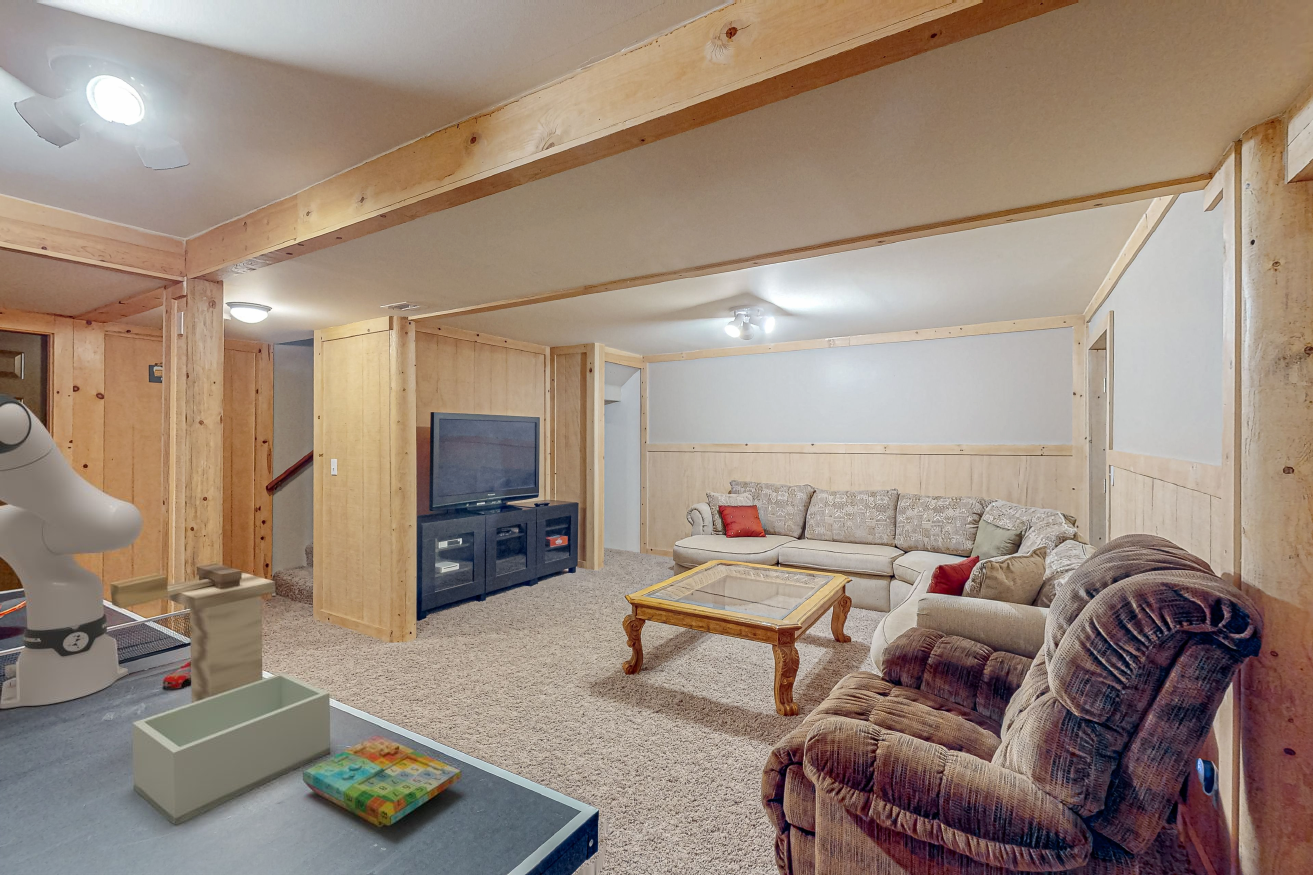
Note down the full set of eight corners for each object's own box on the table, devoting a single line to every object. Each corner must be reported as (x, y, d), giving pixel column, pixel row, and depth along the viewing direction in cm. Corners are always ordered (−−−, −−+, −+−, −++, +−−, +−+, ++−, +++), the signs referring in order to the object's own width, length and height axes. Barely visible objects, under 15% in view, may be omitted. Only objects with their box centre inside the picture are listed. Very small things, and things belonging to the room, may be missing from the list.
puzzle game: (375, 729, 96) (461, 764, 86) (375, 758, 97) (461, 796, 87) (302, 765, 86) (390, 809, 76) (303, 797, 86) (390, 845, 76)
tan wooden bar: (112, 604, 94) (110, 583, 94) (233, 575, 109) (231, 557, 108) (121, 608, 92) (119, 586, 92) (243, 578, 106) (241, 559, 106)
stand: (164, 731, 104) (161, 570, 104) (241, 704, 114) (238, 557, 114) (198, 755, 97) (195, 581, 96) (277, 723, 107) (274, 566, 106)
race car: (174, 693, 120) (174, 674, 120) (155, 690, 121) (155, 670, 121) (237, 667, 132) (237, 650, 132) (220, 664, 134) (219, 647, 134)
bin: (133, 788, 88) (132, 722, 88) (284, 727, 106) (283, 672, 105) (175, 825, 80) (173, 752, 80) (330, 752, 98) (329, 692, 97)
